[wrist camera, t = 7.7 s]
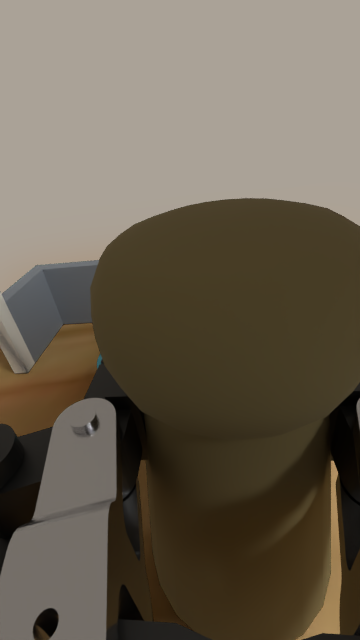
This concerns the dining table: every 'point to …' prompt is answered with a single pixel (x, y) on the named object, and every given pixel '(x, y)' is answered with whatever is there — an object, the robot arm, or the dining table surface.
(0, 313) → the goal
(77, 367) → the dining table surface
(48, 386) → the dining table surface
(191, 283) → the cork
